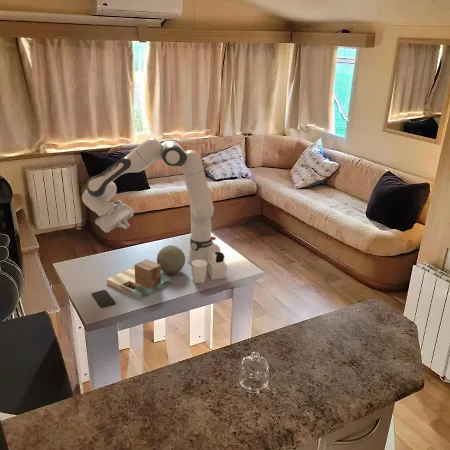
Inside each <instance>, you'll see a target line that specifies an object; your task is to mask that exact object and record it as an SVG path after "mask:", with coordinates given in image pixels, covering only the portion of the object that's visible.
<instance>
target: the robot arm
mask: <svg viewBox="0 0 450 450" xmlns="http://www.w3.org/2000/svg"><path fill="white" fill-rule="evenodd" d="M160 159H162V161H163V163H165V164H166V165H167V166H170V167H180V168H181V171H182V174H183V177H184V178H183V179H184V183H185V186H186V190H187V192H188V196H189V199H190V200H189V207H190V208H189V211H190V213H189V214H190V238H189V245H188V246H189V248H188V254H187V255H186V257H187V262H188V264H190V265H192V262H193V261H194V260H204V261H206V262H207V267H208V261H210V260H211V254H212V253H214V252H221V247H220V246H219V245H218V244H216V243H215V242H214V241H216V239H217V237H216V236H213V235H212V221H211V219H212V217H213V215H214V211H215V207H214V203H213V199H212V195H211V192H210V188H209V185H208V182H207V177H206V173H205V168H204V165H203V162H202V159H201V156H200V155H199V153H198V152H197V151H195V150H193V149H190V150H184V148H183V147H182V144H181V143H180V142H179V141H177V140H176V139H166V140H162V141H159V140H157V139H156V138H153V137H151V138H148V139H146V140H145V141H143V142H142V143H140V144H139V145H138V146H136V147H135V148H134V149H133V150H132V151H130V152H129V153H128V154H127V155H125V156H124V157H122V158H120V159H119V160H118V161H116V162H115V163H113V164H112V165H110V166H109V167H108V168H106V169H105V170H104V171H102V172H101V173H99V174H97V175H94V176H91V177H89V179H88V180H87V183H86V186H85V187H86V189H85V191H83V194H82V196H81V200H82V202H83V204H84V205H85V206H86V207H87V208H89V210H91V211H92V212H95V213H96V215H97V216H99V217H97V218H96V219H95V220H94V223H95V225H96V226H98V227H99V228H100V229H101V230H102V231H103V232H104V233H110V232H111V231H112V230H114V229H115V228H117V227H119V228H123V229H124V230H126V229H128V228H130V227H131V224H130V223H129V222H128V220H129V219H131V218H132V217H133V216H134V214H135V213H134V212H135V210H134V209H133V208H132V207H130V206H129V205H128V204H126V203H123V201H122V200H115V201H112V202H111V200H112V199H113V198H114V197H115V195H116V194H117V191H118V189H117V188H118V187H117V184H116V183H115V182H114V181H115V180H116V179H118V178H119V177H120V176H122V175H125V174H129V173H140V172H143V171H144V170H146V169H147V168H148V167H150V166H151V165H152V164H153V163H154V162H155V161H157V160H160Z"/></svg>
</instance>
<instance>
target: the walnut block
mask: <svg viewBox="0 0 450 450" xmlns="http://www.w3.org/2000/svg"><path fill="white" fill-rule="evenodd" d="M134 266H135V283H138V284H140V285H142V286H144V287H146V288H149V289H150V288H152V287H154V286H156V285H158V284H160V283H161V274H162V270H161V265H160V264H157V262H154V261H152V260H149V259H147V258H146V259H144V260H142V261H139V262H137V263H135V264H134Z"/></svg>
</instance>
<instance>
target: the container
mask: <svg viewBox="0 0 450 450" xmlns="http://www.w3.org/2000/svg"><path fill="white" fill-rule="evenodd" d="M207 274H208V275H209V277H210V279H211V280H212V281H213V280H221V279H226V278H227V264H226V263H225V254H224V253H223V252H221V251H220V252H214V253H212V254H211V260H210V261H208V266H207Z"/></svg>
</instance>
